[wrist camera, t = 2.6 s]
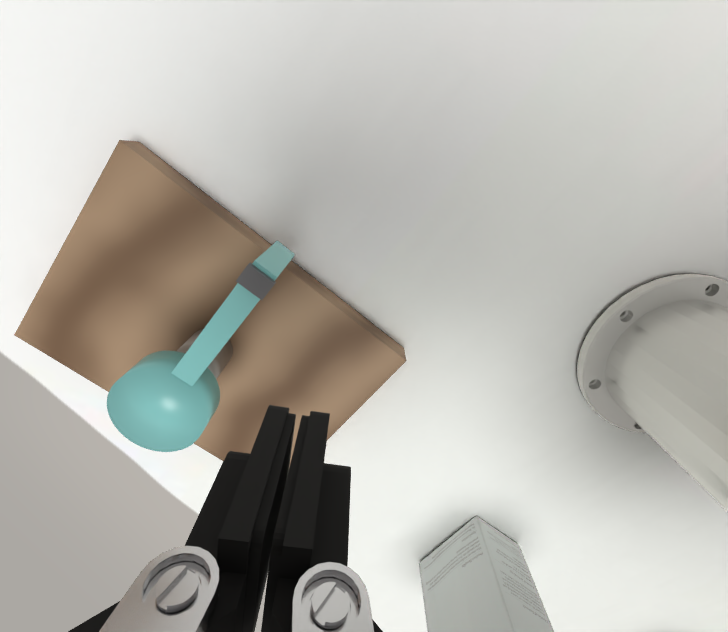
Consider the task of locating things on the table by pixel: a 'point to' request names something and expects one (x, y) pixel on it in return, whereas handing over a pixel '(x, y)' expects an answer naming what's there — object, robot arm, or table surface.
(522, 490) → the table surface
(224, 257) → the post block
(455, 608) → the skincare box
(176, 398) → the teal lever handle
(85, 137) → the table surface
